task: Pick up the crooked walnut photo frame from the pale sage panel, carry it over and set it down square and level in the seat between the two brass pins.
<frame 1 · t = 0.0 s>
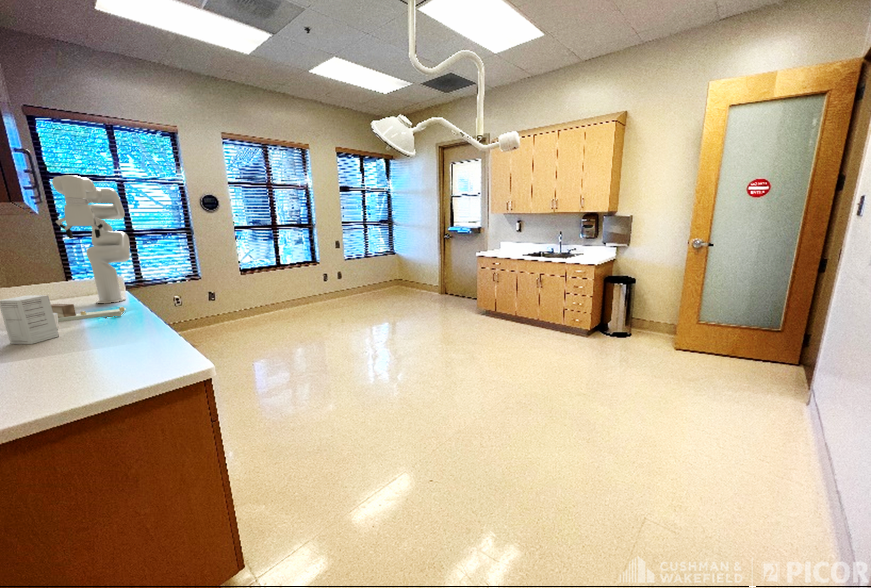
hand: (84, 238, 172), 37 cm above the counter, tool pointing down, fingers open, 9 cm apart
panel: (86, 317, 165), on the counter
shot glass: (49, 331, 145), on the counter
frame: (62, 317, 161), point 1 cm above the counter, touching panel
supplement box: (35, 340, 134), on the counter
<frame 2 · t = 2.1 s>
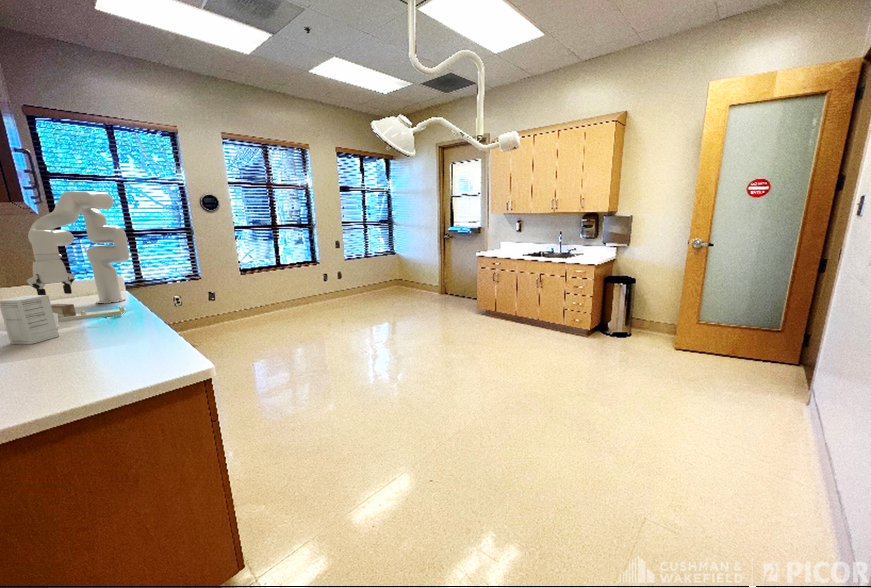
hand: (55, 295, 158), 12 cm above the counter, tool pointing down, fingers open, 9 cm apart
nothing on the counter moved.
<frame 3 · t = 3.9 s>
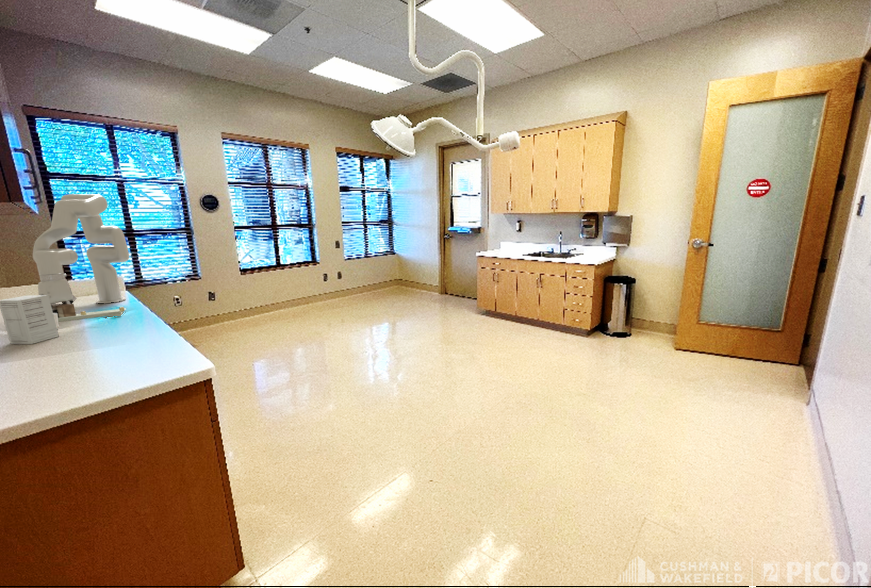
hand: (61, 316, 161), 2 cm above the counter, tool pointing down, fingers closed on frame, 4 cm apart
frame: (62, 317, 161), point 1 cm above the counter, touching gripper, panel
everything else where it was.
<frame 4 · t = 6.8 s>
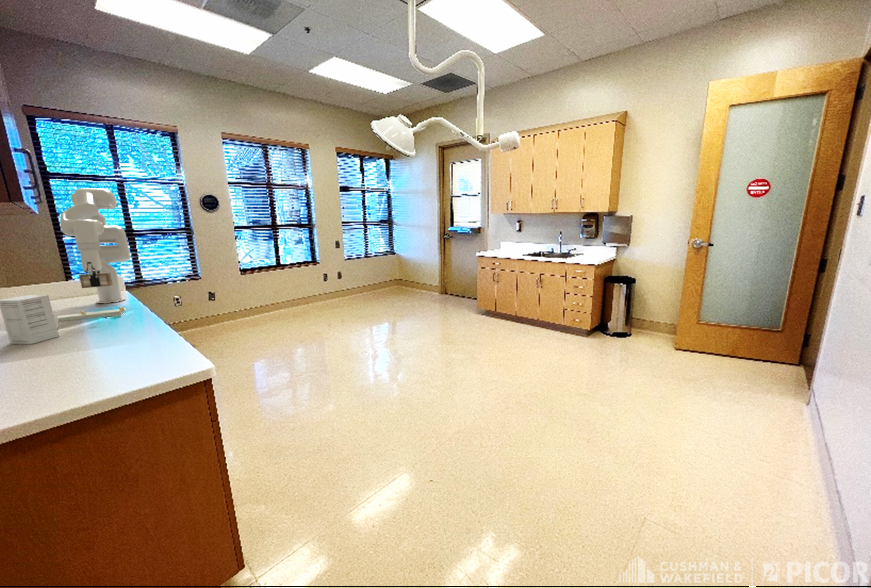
hand: (97, 285, 165), 15 cm above the counter, tool pointing down, fingers closed on frame, 4 cm apart
frame: (97, 286, 165), point 14 cm above the counter, touching gripper
everything else where it was.
when the fingers open (3 cm above the counter, at t = 9.7 s): frame drops 1 cm, resting on panel.
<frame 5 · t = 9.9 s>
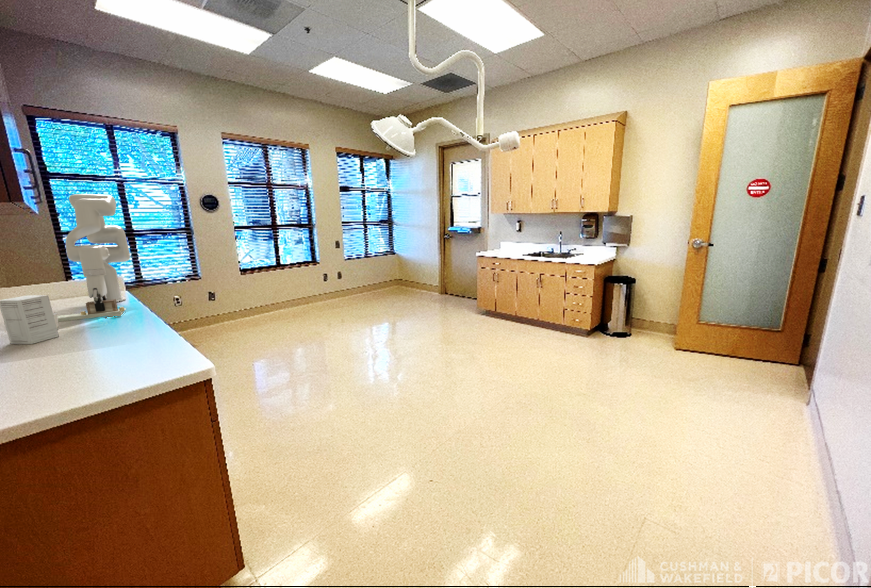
hand: (102, 309, 167), 3 cm above the counter, tool pointing down, fingers open, 6 cm apart
frame: (103, 313, 168), point 1 cm above the counter, touching panel
everything else where it was.
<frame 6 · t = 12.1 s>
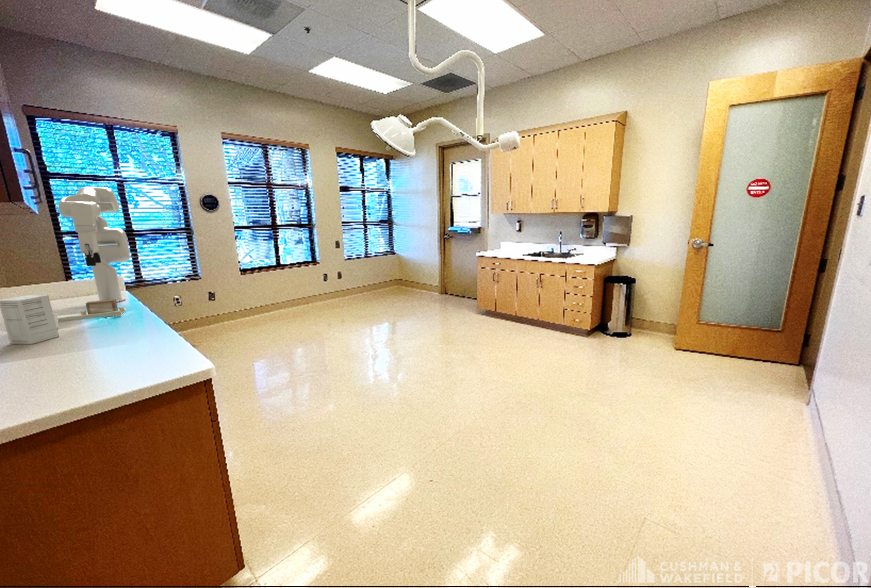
hand: (94, 264, 170), 24 cm above the counter, tool pointing down, fingers open, 9 cm apart
nothing on the counter moved.
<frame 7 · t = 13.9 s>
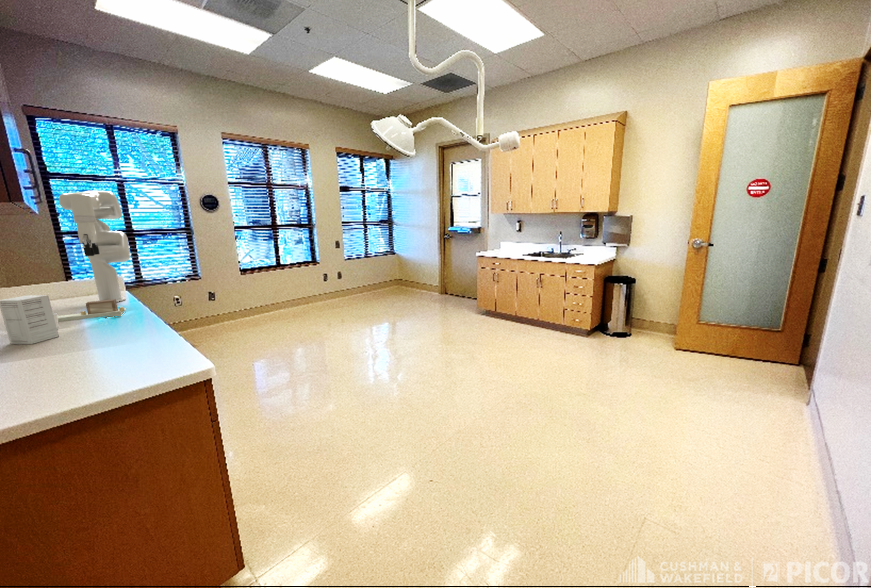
hand: (92, 255, 173), 28 cm above the counter, tool pointing down, fingers open, 9 cm apart
nothing on the counter moved.
at the end: frame 0.3 cm from the target spot, point 1.2 cm above the counter; frame tilted 0°; the gripper is holding nothing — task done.
